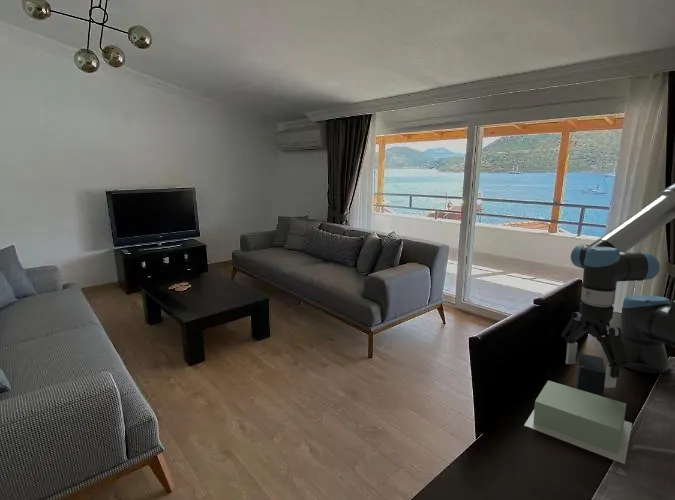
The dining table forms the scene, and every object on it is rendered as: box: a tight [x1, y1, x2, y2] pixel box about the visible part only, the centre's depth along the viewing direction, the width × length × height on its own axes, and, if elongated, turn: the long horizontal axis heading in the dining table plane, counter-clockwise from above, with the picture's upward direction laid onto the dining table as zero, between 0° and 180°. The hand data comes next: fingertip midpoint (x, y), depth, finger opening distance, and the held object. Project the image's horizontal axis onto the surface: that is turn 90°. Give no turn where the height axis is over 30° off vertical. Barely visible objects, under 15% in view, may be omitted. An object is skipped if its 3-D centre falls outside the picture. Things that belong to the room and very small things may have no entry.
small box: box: [574, 352, 606, 397], centre depth 104 cm, size 11×6×10 cm, turn 148°
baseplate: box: [523, 409, 633, 465], centre depth 91 cm, size 18×20×1 cm
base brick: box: [533, 380, 627, 454], centre depth 91 cm, size 13×17×6 cm
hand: (588, 374), depth 104 cm, fingers open, 13 cm apart
